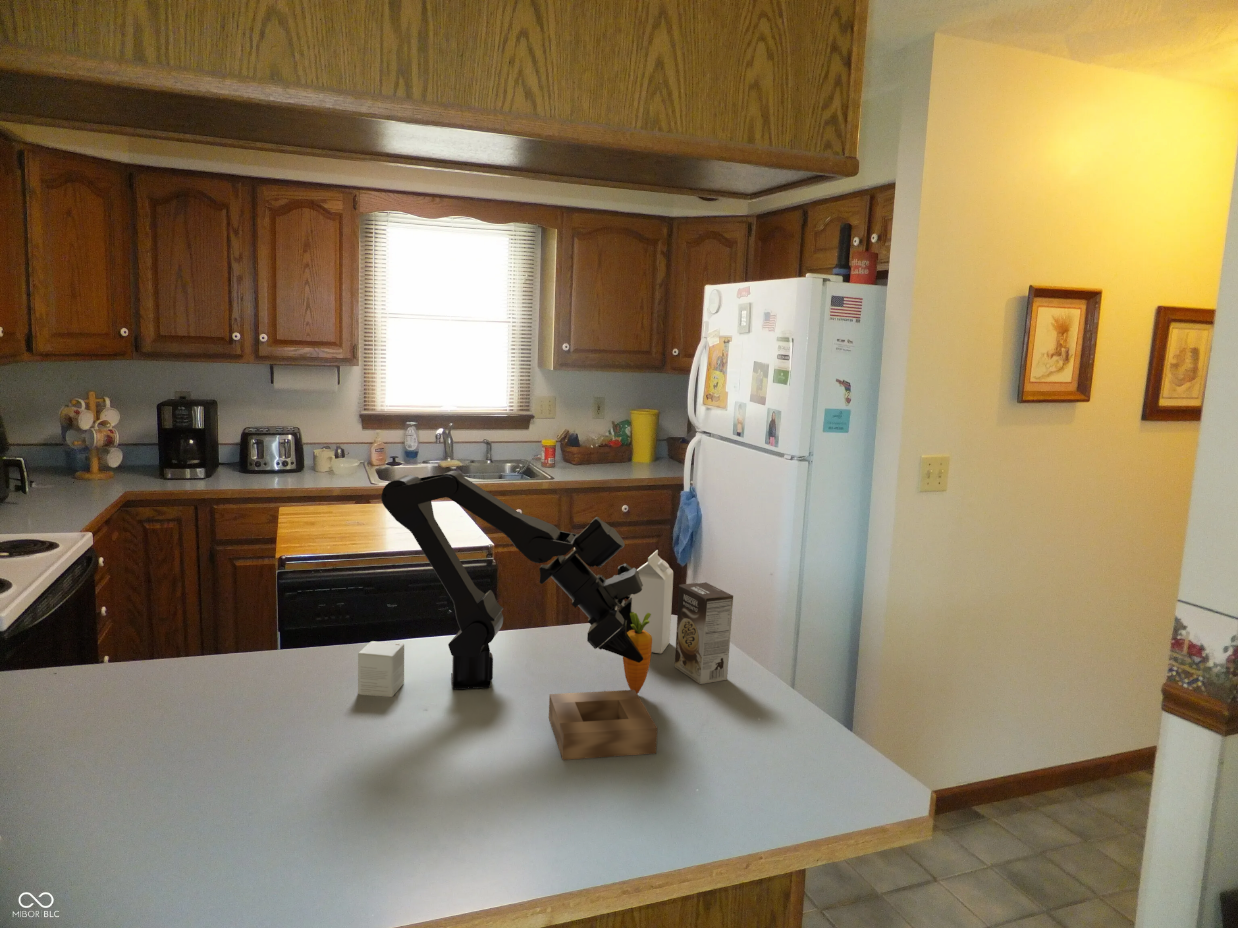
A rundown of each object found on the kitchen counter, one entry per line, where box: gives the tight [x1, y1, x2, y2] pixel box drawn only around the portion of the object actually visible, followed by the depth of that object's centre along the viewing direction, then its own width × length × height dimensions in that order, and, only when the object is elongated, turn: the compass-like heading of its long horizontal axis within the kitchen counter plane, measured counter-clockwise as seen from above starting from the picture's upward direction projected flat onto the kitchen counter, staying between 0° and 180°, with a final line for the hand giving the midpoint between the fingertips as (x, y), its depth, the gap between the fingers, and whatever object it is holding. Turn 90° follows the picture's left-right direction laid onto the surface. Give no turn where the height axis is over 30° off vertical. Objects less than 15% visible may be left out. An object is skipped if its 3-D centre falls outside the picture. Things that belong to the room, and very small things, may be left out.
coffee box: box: [674, 582, 734, 685], centre depth 157 cm, size 9×6×16 cm
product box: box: [357, 640, 405, 698], centre depth 145 cm, size 6×6×7 cm
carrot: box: [622, 612, 652, 695], centre depth 146 cm, size 5×5×15 cm
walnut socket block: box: [548, 689, 658, 761], centre depth 132 cm, size 14×14×4 cm
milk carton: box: [628, 549, 674, 654], centre depth 170 cm, size 7×7×19 cm
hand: (643, 650), depth 146 cm, fingers open, 9 cm apart
